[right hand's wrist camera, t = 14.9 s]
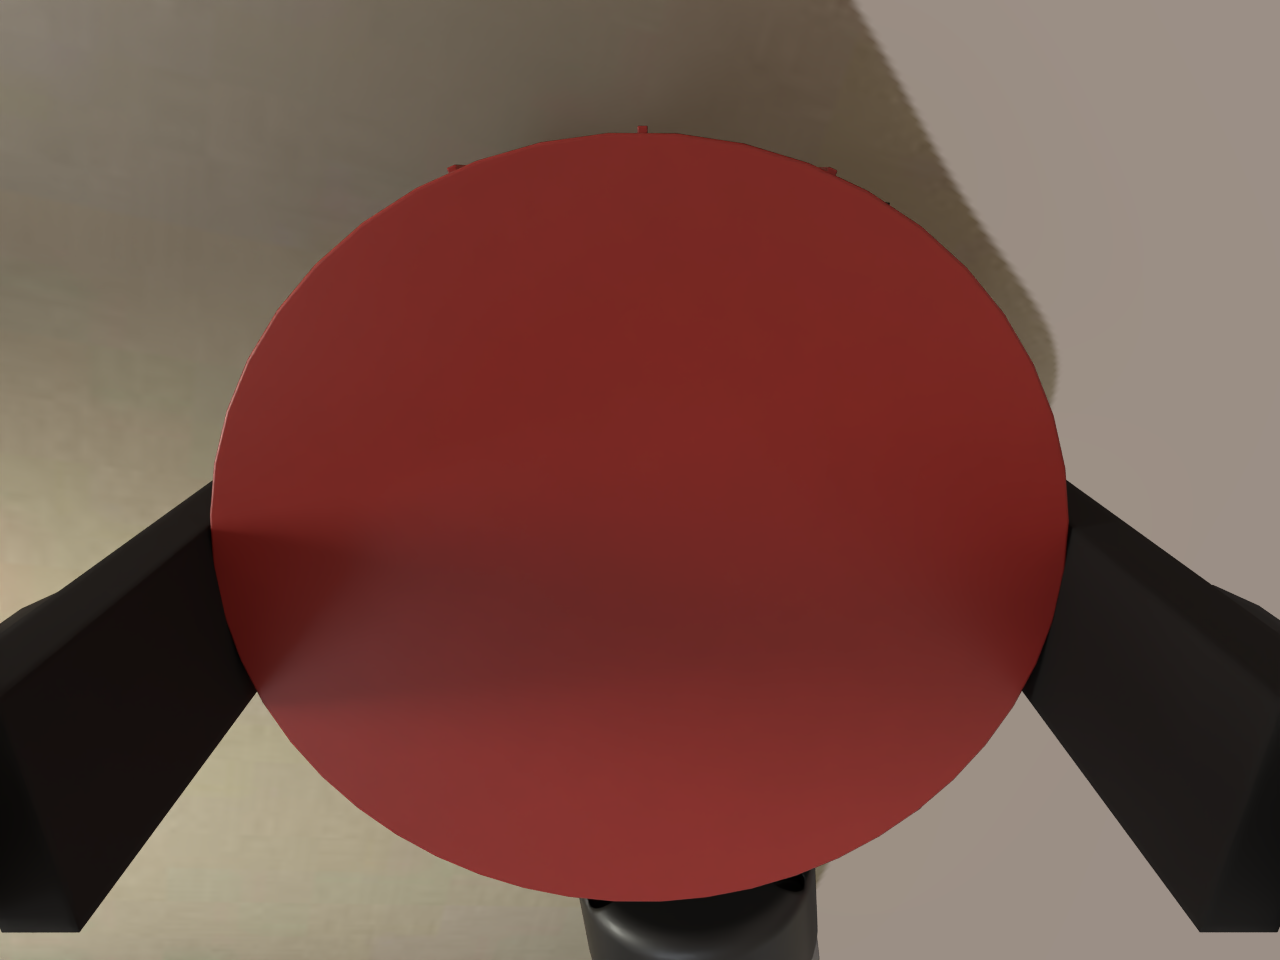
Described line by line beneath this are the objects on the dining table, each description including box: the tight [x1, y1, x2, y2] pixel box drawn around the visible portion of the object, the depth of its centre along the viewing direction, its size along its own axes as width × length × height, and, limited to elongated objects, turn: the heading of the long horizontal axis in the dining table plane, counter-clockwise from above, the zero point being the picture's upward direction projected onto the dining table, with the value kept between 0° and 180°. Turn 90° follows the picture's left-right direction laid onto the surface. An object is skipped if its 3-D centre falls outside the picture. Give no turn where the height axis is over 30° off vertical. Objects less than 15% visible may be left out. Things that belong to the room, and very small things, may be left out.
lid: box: [210, 126, 1069, 901], centre depth 11 cm, size 11×11×2 cm
